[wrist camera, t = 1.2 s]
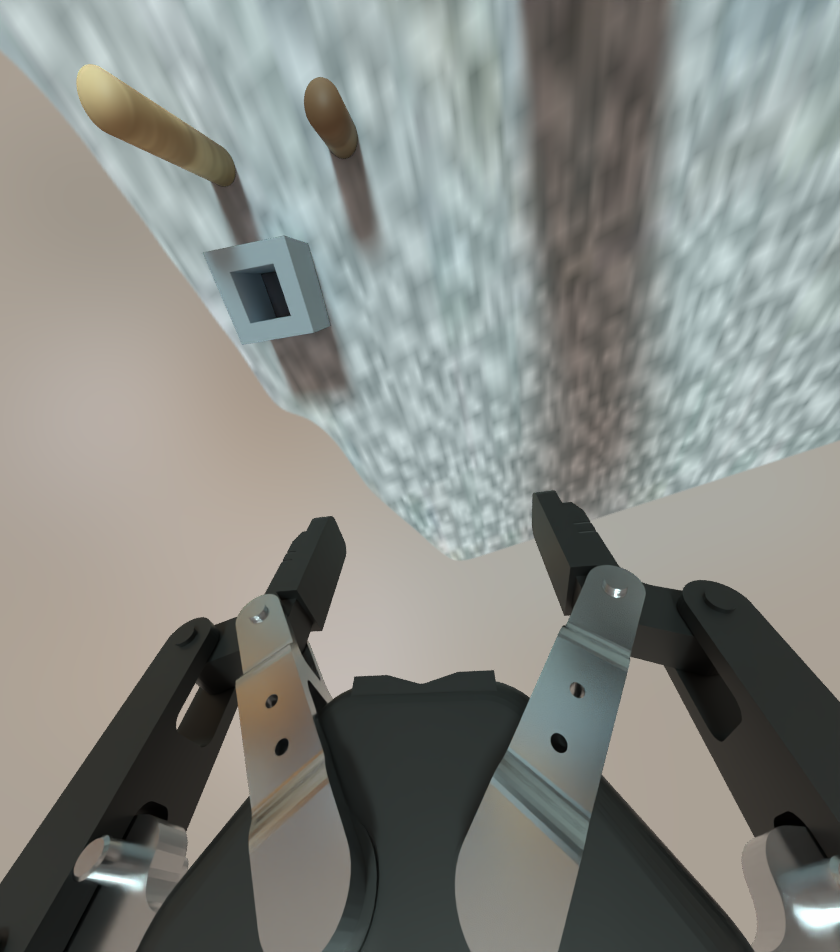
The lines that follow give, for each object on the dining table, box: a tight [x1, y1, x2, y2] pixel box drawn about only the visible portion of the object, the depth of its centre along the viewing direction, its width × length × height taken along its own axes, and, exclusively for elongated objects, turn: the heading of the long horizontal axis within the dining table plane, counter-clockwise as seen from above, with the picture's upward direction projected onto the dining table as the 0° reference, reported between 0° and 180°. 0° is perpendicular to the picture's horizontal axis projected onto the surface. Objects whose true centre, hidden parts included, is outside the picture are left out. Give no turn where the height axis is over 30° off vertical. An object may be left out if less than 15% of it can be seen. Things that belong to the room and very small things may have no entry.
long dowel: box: [77, 64, 235, 186], centre depth 20 cm, size 2×2×10 cm
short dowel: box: [304, 77, 358, 159], centre depth 21 cm, size 2×2×4 cm
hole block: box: [203, 236, 331, 345], centre depth 26 cm, size 6×6×5 cm
